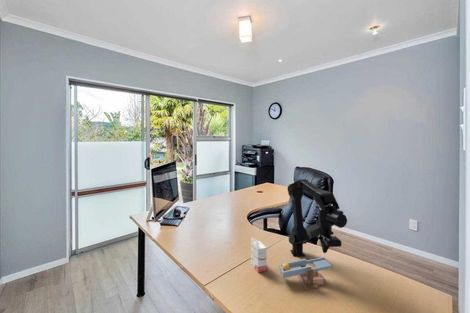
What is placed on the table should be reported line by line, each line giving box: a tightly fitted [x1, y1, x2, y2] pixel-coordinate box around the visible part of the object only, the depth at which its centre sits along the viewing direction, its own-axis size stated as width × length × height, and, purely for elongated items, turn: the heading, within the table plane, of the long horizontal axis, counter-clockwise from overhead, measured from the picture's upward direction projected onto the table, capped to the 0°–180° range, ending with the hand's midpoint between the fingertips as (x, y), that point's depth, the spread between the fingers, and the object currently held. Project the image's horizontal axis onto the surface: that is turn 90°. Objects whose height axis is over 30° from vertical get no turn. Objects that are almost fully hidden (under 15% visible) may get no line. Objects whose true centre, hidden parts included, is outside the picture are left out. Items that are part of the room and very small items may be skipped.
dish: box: [297, 271, 326, 286], centre depth 102 cm, size 10×7×3 cm
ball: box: [282, 262, 290, 271], centre depth 101 cm, size 4×4×4 cm
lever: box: [278, 256, 333, 279], centre depth 101 cm, size 22×7×3 cm, turn 92°
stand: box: [299, 258, 319, 290], centre depth 101 cm, size 6×11×8 cm, turn 3°
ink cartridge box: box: [250, 236, 268, 273], centre depth 112 cm, size 9×5×15 cm, turn 21°
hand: (324, 252), depth 103 cm, fingers closed
